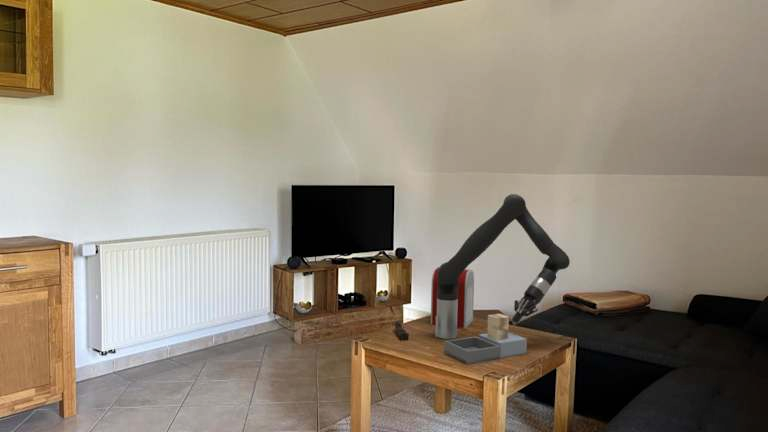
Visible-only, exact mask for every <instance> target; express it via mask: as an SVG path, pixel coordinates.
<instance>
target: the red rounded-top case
mask: <svg viewBox="0 0 768 432" xmlns="http://www.w3.org/2000/svg"><path fill="white" fill-rule="evenodd" d="M439 267H440V266H437V267H436V268H435V269H434V270H433V271H432V272H433V273H432V274H431V275H432V277H431V288H430V289H431V293H430V294H431V296H430V297H431V299H430V325H434V326H435V325H436V315H437V290H438V277H437V272H438V269H439ZM474 291H475V275H474V271H473V269H470V268H466V269H465V270H464V271H463V272H462V273H461V275H460V276H459V279H458V308H457V328H458V329H459V328H460V329H461V328H462V329H466V328H468V326H469V325H471V323H472V322H474V293H475V292H474Z"/></svg>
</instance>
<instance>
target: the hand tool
mask: <svg viewBox="0 0 768 432" xmlns="http://www.w3.org/2000/svg"><path fill="white" fill-rule="evenodd" d="M394 329H395V333H396V334H397V335H398V337H399V340H400V341H401V340H407V341H408V340H409V337H410V334H409V333H408V332H406V330H405V329H404V328H403V326H402V323H401V322H400V321H395V322H394Z"/></svg>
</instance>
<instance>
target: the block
mask: <svg viewBox="0 0 768 432" xmlns="http://www.w3.org/2000/svg"><path fill="white" fill-rule="evenodd" d="M509 318H510V316H507V315H504V314H501V313H495V314H488V315H487V332H486V333H487V337H490V338H493V339H495V340H501V339H507V338H508V332H509V322H510V320H509Z"/></svg>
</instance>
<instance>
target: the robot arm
mask: <svg viewBox="0 0 768 432" xmlns="http://www.w3.org/2000/svg"><path fill="white" fill-rule="evenodd" d="M526 205H527V204H526V201H525V198H524V197H522V196H521V195H519V194H516V193H515V194H514V193H512V194H508V195H507V196H506V197H505V198H504V200H503V203H502V205H501V206H500V208H499V209H498V210H497V211H496V213H494V215H493V216H491V217H490V218H489V219H487V220H486V221H484V222H483V223H481V225H480V226H479V227H477V228H475V230H474V231H473V232H472V233H470V235H469V236H468V238H467V239H466V240H464V241H465V242H464V243H463V244H462V245H461V247H459V249H458V251H457V252H456V254H455V255H453V256H452V258H450V259H449V260H448V261H447V262H443V263H442V264H441V265H440V266H438V267H439V269H438V272H437V277H438V290H437V315H436V325H434V326H435V329H434V330H435V331H434V336H435V338H440V339H445V340H447V339H448V340H453V339H457V337H458V327H457V308H458V279H459V276H460V275H461V273H462V272H463V271H464V270H465V269H467V267H468V266H469V265H470V264H472V262H474V261H475V260H477V259H478V258H479V257H480V256H481V255H482V254H483V253H484V252H485V251H486V250H487V249H488V248H489V247H490V246H491V245H492V244H493V243H494V242H495V241H496V240H497V238H498V237H500V235H501V233H502V232H503V231H504V230H505V228H507V227H508V226H509V225H510V224H511V223H512V222H513V221H515V220H516V221H517V223H518V224H520V226H521V227H522V229H523V230H524V231H525V233H526V234H527V236H528V237H529V239H530V240H531V242H532V243H533V244H534V246H535V247H536V248H537V250H539V252H540V253H541V254H542V255H545V256H547V259H546V260H545V262H544V265H543V266H542V269H541V271H540V272H539V274H538V275H537V276H536V277H535V279H533V281H532V282H531V283H530V284H529V286H528V287H527V288H526V290H525V291H524V293H523V294H524V295H523V297H521V298H520V300H517V299H515V300H514V307H513V308H514V311H515V314H514V316H513V317H512V319H511V320H512V321H513V323H515V324H518V323H519V322H520V321H521V319H522V318H523V317H529V316H531V315H533V314H534V313H536V312H538V310H539V309H538V307H537V305H539V304H541V302H542V301H543V299H544V297H545V296H546V295H547V293H548V291H549V290H550V288H551V287H552V286H553V284H554V283H555V281H556V279H557V273H558V272H559V271H560V270H566V269H567V268H568V267H569V266H570V262H571V261H570V257H569V256H568V254H567V253H566V251H564V250H563V248H561V247H559V246H558V245H557V244H556V243H555V242H554V241H553V239H552V237H550V236H549V234H548V233H547V232H546V231H545V230H544V228H543V227H542V226H541V225H540V224H539V223H538V222H537V220H535V218H534V217H533V216H532V214H531V213H530V212H529V210H528V207H527V206H526Z"/></svg>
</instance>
